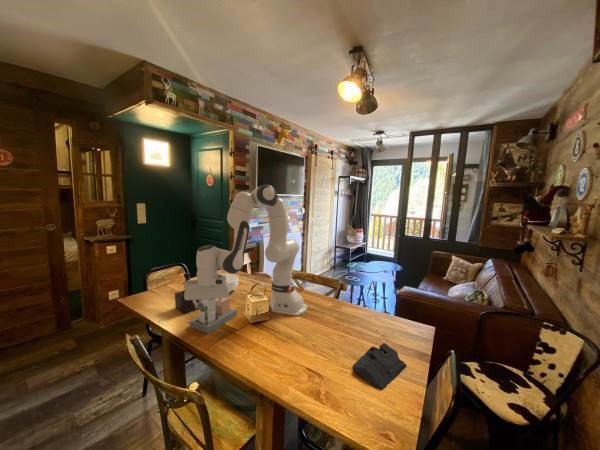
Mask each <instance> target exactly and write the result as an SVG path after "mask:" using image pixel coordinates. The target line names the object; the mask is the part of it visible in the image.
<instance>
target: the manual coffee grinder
mask: <svg viewBox="0 0 600 450" xmlns="http://www.w3.org/2000/svg"><path fill="white" fill-rule="evenodd" d="M182 277H184V279H185V280H184V281H183V282H182V285H184V283H185V282H186V281H187V280H191V279H190V277H191V273H190V272H185V273H183V276H182ZM184 293H185V289H183V290H181V291H177V292H175V293H174V302H175V310H177V309H178V310H179V311H178V310H177V311H178V312H180V311H181V312H182V313H181V312H180V313H181V314H183V313H184V314H183V315H187V314H189V312H190V313H192V312H191V311H193V312H195V311H197V310H196V309H198V310H199V308H195V304H194V303H193V300H185V298H184ZM196 302H197V303H199V299H198V300H196ZM194 310H195V311H194ZM186 313H187V314H186Z"/></svg>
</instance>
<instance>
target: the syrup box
mask: <svg viewBox="0 0 600 450" xmlns="http://www.w3.org/2000/svg"><path fill="white" fill-rule="evenodd" d="M215 304H216V298H213V299H199V309H198V317H199V323H200V324H203V325H206V326H207V325H208V324H210V323H212V322H213V321H215Z"/></svg>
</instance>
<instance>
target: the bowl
mask: <svg viewBox="0 0 600 450" xmlns="http://www.w3.org/2000/svg"><path fill="white" fill-rule="evenodd" d="M219 274H220V275H224V276H226V281H227V283H228V286H229V293H231V292H233V290H235V289H237V287H238V286H239V276H238V275H236V274H230V273H219Z"/></svg>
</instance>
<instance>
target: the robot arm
mask: <svg viewBox="0 0 600 450" xmlns="http://www.w3.org/2000/svg"><path fill="white" fill-rule="evenodd" d="M259 208H265V210H266V212H267V216H268V217H267V218H268V225H269V239H268V240H269V241H268V244H267V246H266V248H265V250H264V256H265V258H266V259H267V261H268V262H271V263H275V265H274V267H273V269H272V282H271V298H270V302H269V305H270V306H269V308H270V309H271V312H272V313H276V314H282V315H283V314H285V315H290V316H295V317H296V316H297V317H298V316H300V315H303V314H304V313H305V312H306V311H307V309H308V305H307V304H305V301H304V298H303V296H302V295H301V294H300V293H299V292H298V291H297V290H296V289H295V287H296V284H293V282H292V279H293V278H292V277H293V276H292V275H293V267H294V264H295V260H296V257H297V254H298V252H299V250H300V245H299V243H298V241H296V240H295V239H292V238H291V239H287V235H288V232H289V231H290V224H289V218H288V212H287V207H286V203H285V202H284V200H283V198H280V197H279V195H278V194H277V191H276V189H275V188H274V187H273V186H272V185H270V184H262V185H260V186H257V187H256V188H254V189H253V190H251V191H250V192H248V191H239V192H238V193H237V194H236V196H235V197H234V198H233V200H232V203H231V204H230V208H229V209H228V213H227V216H226V221H227V223H228V225H230V227H231V228H232V229H233V230H234V232H235V237H234V241H233V245H232V249H231V250H228V249H222V248H219V247H216V246H214V245H213V244H205V245H202V246H199V248H197V252H196V257H195V258H196V260H195V261H196V262H195V263H196V269H197V271H196V279H190V280H187V281H186V282H185V283H184V284H183V290H185V293H184V298H185V300H193V303H194V304H195V308H199V303H197V302H196V300H198V299H213V298H218V299H219V301H218V302H216V307H219V306H220V302H221V300H222V298H227V297H229V296H230V292H229V286H228V283H227V281H226V276H224V275H220V274H221V273H217V271H218V270H222V271H224V272H226V273H227V274H233V275H236V273H237V274H238V273H239V272H240V271H241V270H242V269H243V267H244V263H245V253H246V248H247V245H248V244H247V243H248V239H249V234H250V224H249V221H250V217H251V214H252V211H253V209H259Z"/></svg>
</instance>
